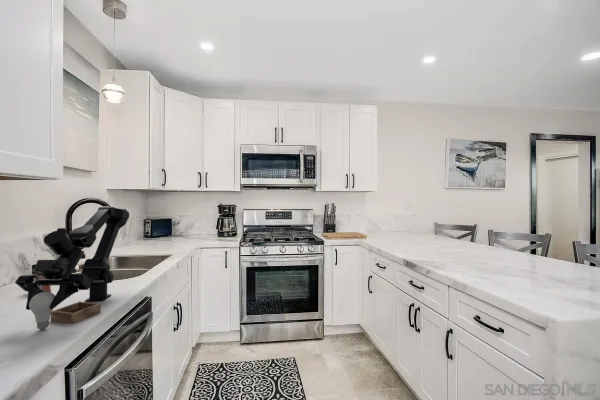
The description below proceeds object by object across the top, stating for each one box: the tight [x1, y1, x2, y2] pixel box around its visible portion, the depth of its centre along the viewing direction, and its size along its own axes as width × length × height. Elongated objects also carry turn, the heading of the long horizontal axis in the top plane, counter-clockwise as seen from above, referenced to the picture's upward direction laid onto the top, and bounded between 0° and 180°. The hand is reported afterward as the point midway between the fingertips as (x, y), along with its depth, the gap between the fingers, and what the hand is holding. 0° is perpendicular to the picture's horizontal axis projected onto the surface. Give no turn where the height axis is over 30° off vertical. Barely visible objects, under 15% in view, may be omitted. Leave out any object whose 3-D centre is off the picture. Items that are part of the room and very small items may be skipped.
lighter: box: [31, 268, 52, 293], centre depth 119 cm, size 8×3×10 cm, turn 84°
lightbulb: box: [29, 292, 56, 331], centre depth 84 cm, size 6×6×11 cm
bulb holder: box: [50, 301, 102, 325], centre depth 94 cm, size 9×9×3 cm
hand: (39, 308), depth 83 cm, fingers closed on lightbulb, 6 cm apart
